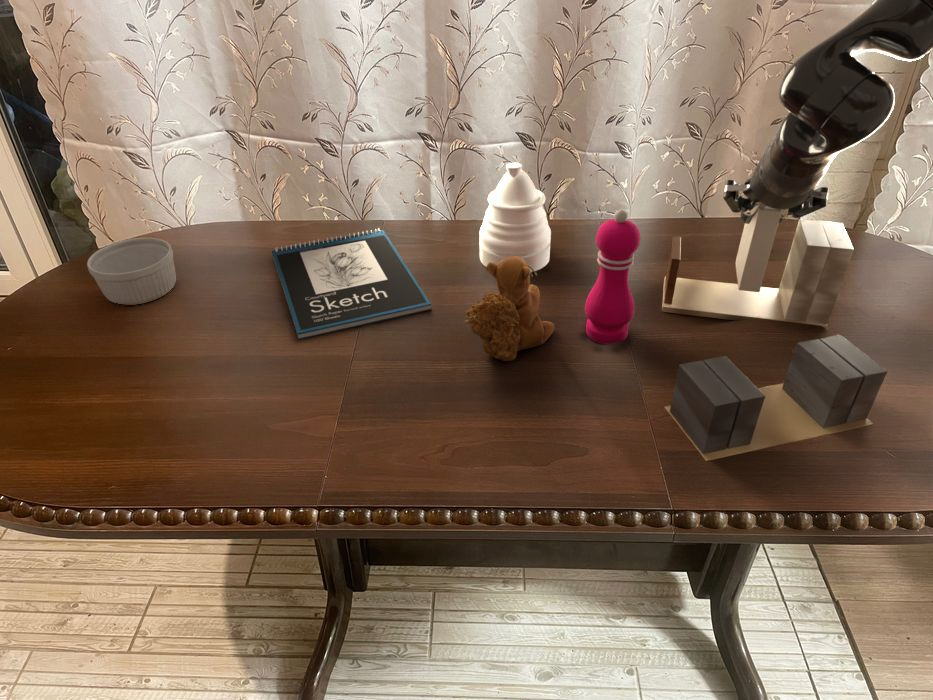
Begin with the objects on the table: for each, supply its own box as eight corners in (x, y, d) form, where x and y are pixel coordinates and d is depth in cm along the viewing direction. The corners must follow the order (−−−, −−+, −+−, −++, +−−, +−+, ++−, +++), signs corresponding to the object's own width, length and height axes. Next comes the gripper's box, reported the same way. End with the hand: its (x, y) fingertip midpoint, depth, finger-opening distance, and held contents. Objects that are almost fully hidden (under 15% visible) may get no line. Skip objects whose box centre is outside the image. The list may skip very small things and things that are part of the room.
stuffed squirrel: (557, 328, 101) (562, 252, 93) (519, 379, 91) (521, 298, 83) (499, 313, 105) (499, 238, 97) (456, 360, 95) (453, 281, 87)
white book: (754, 264, 105) (775, 187, 98) (759, 292, 98) (782, 211, 91) (735, 262, 106) (754, 185, 98) (738, 290, 99) (758, 209, 91)
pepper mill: (619, 317, 103) (635, 197, 91) (638, 343, 97) (658, 218, 85) (575, 323, 102) (586, 202, 90) (592, 350, 96) (606, 224, 84)
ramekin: (191, 294, 112) (180, 258, 108) (109, 319, 106) (94, 282, 102) (171, 264, 121) (160, 230, 117) (94, 286, 115) (79, 251, 111)
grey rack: (816, 381, 89) (836, 329, 84) (871, 430, 81) (895, 376, 76) (662, 412, 84) (673, 359, 80) (704, 466, 77) (719, 412, 72)
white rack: (816, 298, 106) (842, 221, 98) (825, 331, 98) (854, 251, 90) (663, 281, 112) (676, 207, 104) (661, 311, 104) (675, 234, 96)
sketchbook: (299, 341, 100) (296, 329, 99) (272, 256, 123) (270, 246, 122) (431, 310, 106) (431, 299, 105) (382, 234, 129) (381, 225, 128)
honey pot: (542, 277, 114) (547, 178, 103) (471, 269, 117) (469, 171, 106) (555, 245, 123) (561, 151, 113) (489, 238, 127) (489, 146, 116)
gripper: (855, 144, 81) (812, 199, 97) (735, 136, 84) (713, 191, 101) (849, 201, 80) (807, 247, 96) (727, 191, 83) (707, 237, 100)
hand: (759, 218), depth 98 cm, fingers closed on white book, 3 cm apart
